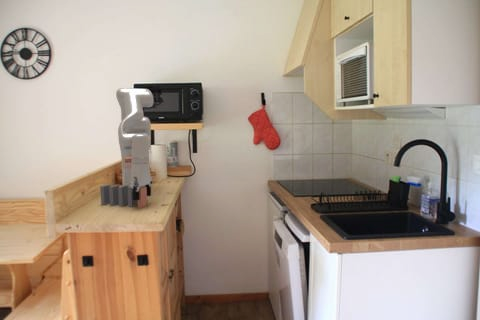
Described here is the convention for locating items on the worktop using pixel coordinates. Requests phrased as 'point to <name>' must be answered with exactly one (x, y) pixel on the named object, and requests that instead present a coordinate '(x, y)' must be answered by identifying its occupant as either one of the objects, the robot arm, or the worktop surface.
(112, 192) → the domino
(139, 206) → the red domino
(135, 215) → the worktop surface
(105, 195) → the domino
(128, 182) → the cracker box
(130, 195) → the domino
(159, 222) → the worktop surface
